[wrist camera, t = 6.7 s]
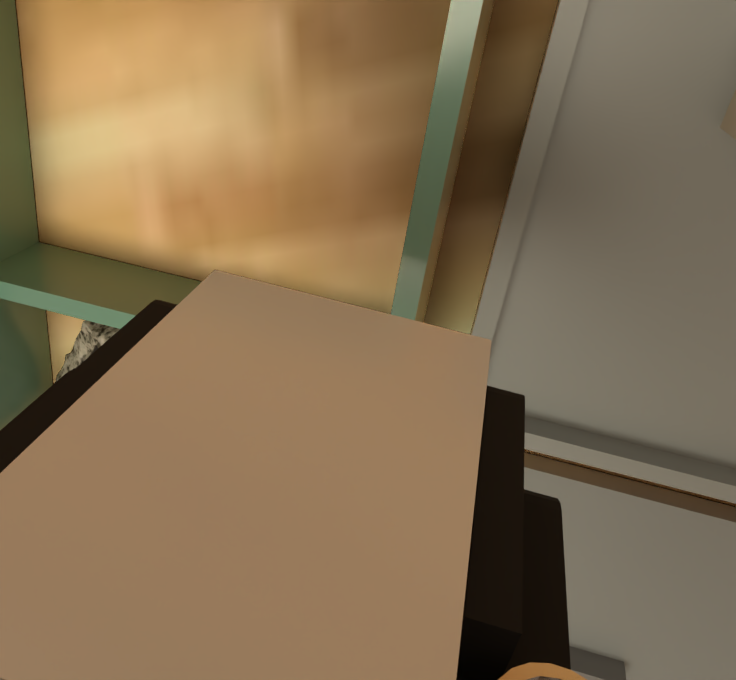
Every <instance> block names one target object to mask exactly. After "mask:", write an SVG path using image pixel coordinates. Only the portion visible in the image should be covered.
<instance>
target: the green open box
mask: <svg viewBox="0 0 736 680" xmlns="http://www.w3.org/2000/svg"><path fill="white" fill-rule="evenodd" d="M494 2H495V0H451V4H450V9H449V14H448V19H447V24H446V30H445V35H444V40H443V45H442V50H441V56H440V61H439V66H438V71H437V76H436V82H435V87H434V92H433V97H432V102H431V108H430V113H429V118H428V123H427V128H426V134H425V139H424V144H423V149H422V154H421V160H420V165H419V170H418V175H417V180H416V186H415V191H414V196H413V201H412V206H411V212H410V217H409V222H408V227H407V232H406V238H405V243H404V248H403V253H402V258H401V264H400V269H399V274H398V279H397V284H396V290H395V295H394V300H393V305H392V310H391V315H395V316H399V317H403V318H407V319H411V320H415V321H419V322H424V318H425V313H426V309H427V304H428V300H429V295H430V291H431V286H432V282H433V277H434V273H435V268H436V264H437V259H438V255H439V250H440V246H441V241H442V237H443V232H444V227H445V223H446V218H447V214H448V209H449V205H450V200H451V196H452V191H453V187H454V182H455V178H456V173H457V169H458V164H459V160H460V155H461V151H462V146H463V142H464V137H465V133H466V128H467V124H468V119H469V115H470V110H471V106H472V101H473V97H474V92H475V87H476V83H477V78H478V74H479V69H480V65H481V60H482V56H483V51H484V47H485V42H486V38H487V33H488V29H489V24H490V20H491V15H492V11H493V6H494ZM200 283H201V281H197V280H193V279H188V278H184V277H180V276H176V275H172V274H168V273H164V272H160V271H156V270H152V269H147V268H143V267H139V266H135V265H131V264H127V263H123V262H119V261H115V260H111V259H106V258H102V257H98V256H94V255H90V254H86V253H82V252H78V251H74V250H69V249H65V248H61V247H57V246H53V245H49V244H45V243H41V242H39V239H38V229H37V219H36V209H35V199H34V188H33V178H32V168H31V158H30V148H29V138H28V128H27V118H26V108H25V98H24V87H23V77H22V67H21V57H20V47H19V37H18V27H17V17H16V7H15V0H0V430H1V429H2V428H4V427H5V426H6V425H7V424H8V423H9V422H10V421H12V420H13V419H14V418H15V417H16V416H17V415H19V414H20V413H21V412H22V411H23V410H24V409H25V408H27V407H28V406H29V405H30V404H31V403H32V402H33V401H35V400H36V399H37V398H38V397H39V396H40V395H42V394H43V393H44V392H45V391H46V390H47V389H48V388H50V387H51V386H52V385H53V380H52V370H51V360H50V350H49V340H48V330H47V320H46V310H48V311H52V312H56V313H60V314H64V315H68V316H71V317H75V318H79V319H83V320H87V321H91V322H95V323H99V324H103V325H107V326H110V327H114V328H118V329H121V328H122V327H123V326H124V325H126V324H127V323H128V322H129V321H130V320H131V319H132V318H134V317H135V316H136V315H137V314H138V313H139V312H140V311H142V310H143V309H144V308H145V307H146V306H147V305H148V304H150V303H151V302H152V301H154V300H162V301H166V302H170V303H173V304H177V305H178V304H179V303H180V302H181V301H182V300H183V299H184V298H185V297H187V296H188V295H189V294H190V293H191V292H192V291H193V290H194V289H195V288H196V287H197V286H198V285H199V284H200Z"/></svg>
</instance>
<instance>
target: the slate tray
mask: <svg viewBox="0 0 736 680" xmlns="http://www.w3.org/2000/svg"><path fill="white" fill-rule="evenodd" d="M735 89H736V0H558V3H557V7H556V11H555V15H554V18H553V22H552V26H551V30H550V34H549V37H548V41H547V45H546V49H545V53H544V56H543V60H542V64H541V68H540V71H539V75H538V79H537V83H536V87H535V90H534V94H533V98H532V102H531V106H530V109H529V113H528V117H527V121H526V125H525V128H524V132H523V136H522V140H521V143H520V147H519V151H518V155H517V159H516V162H515V166H514V170H513V174H512V178H511V181H510V185H509V189H508V193H507V197H506V200H505V204H504V208H503V212H502V216H501V219H500V223H499V227H498V231H497V234H496V238H495V242H494V246H493V250H492V253H491V257H490V261H489V265H488V269H487V272H486V276H485V280H484V284H483V288H482V291H481V295H480V299H479V303H478V307H477V310H476V314H475V318H474V322H473V325H472V329H471V333H470V335H474V336H478V337H482V338H486V339H490V340H492V341H491V350H490V360H489V369H488V379H487V386H491V387H495V388H499V389H503V390H507V391H510V392H514V393H518V394H522V395H524V396H525V445H524V449H527V450H531V451H534V452H538V453H542V454H546V455H550V456H554V457H558V458H561V459H565V460H569V461H573V462H577V463H581V464H584V465H588V466H592V467H596V468H600V469H604V470H608V471H611V472H615V473H619V474H623V475H627V476H631V477H635V478H638V479H642V480H646V481H650V482H654V483H658V484H662V485H665V486H669V487H673V488H677V489H681V490H685V491H689V492H692V493H696V494H700V495H704V496H708V497H712V498H716V499H719V500H723V501H727V502H731V503H735V504H736V140H735V139H734V138H733V137H731V136H730V135H729V134H728V133H726V132H725V131H724V130H722V129H721V128H720V126H721V124H722V121H723V119H724V116H725V114H726V111H727V109H728V106H729V104H730V101H731V99H732V96H733V94H734V92H735ZM524 489H525V490H529V491H532V492H536V493H540V494H543V495H547V496H551V497H554V498H558V500H559V501H560V503H561V509H562V524H563V541H564V559H565V576H566V594H567V611H568V629H569V646H570V663H571V670H572V671H574V672H576V673H577V674H579V675H580V676H582V677H584V678H585V679H587V680H736V507H733V506H729V505H725V504H722V503H718V502H714V501H710V500H706V499H702V498H699V497H695V496H691V495H687V494H683V493H679V492H675V491H672V490H668V489H664V488H660V487H656V486H652V485H649V484H645V483H641V482H637V481H633V480H629V479H625V478H622V477H618V476H614V475H610V474H606V473H602V472H599V471H595V470H591V469H587V468H583V467H579V466H575V465H572V464H568V463H564V462H560V461H556V460H552V459H549V458H545V457H541V456H537V455H533V454H529V453H525V452H524Z"/></svg>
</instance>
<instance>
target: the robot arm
mask: <svg viewBox="0 0 736 680" xmlns="http://www.w3.org/2000/svg"><path fill="white" fill-rule="evenodd" d="M176 306H177V304H173V303H170V302H166V301H162V300H154V301H152V302H151V303H150V304H148V305H147V306H146V307H145V308H144V309H143V310H142V311H140V312H139V313H138V314H137V315H136V316H135V317H134V318H132V319H131V320H130V321H129V322H128V323H127V324H126V325H124V326H123V327H122V328H121V329H120V330H119V331H118V332H116V333H115V334H114V335H113V336H112V337H111V338H110V339H108V340H107V341H106V342H105V343H104V344H103V345H102V346H100V347H99V348H98V349H97V350H96V351H95V352H94V353H92V354H91V355H90V356H89V357H88V358H87V359H86V360H84V361H83V362H82V363H81V364H80V365H79V366H78V367H76V368H74V369H72V370H71V371H69V372H67V373H66V374H65V375H63V376H62V377H61V378H60V379H59V380H58V381H57V382H55V383H54V384H53V385H52V386H51V387H50V388H48V389H47V390H46V391H45V392H44V393H43V394H42V395H40V396H39V397H38V398H37V399H36V400H35V401H33V402H32V403H31V404H30V405H29V406H28V407H27V408H25V409H24V410H23V411H22V412H21V413H20V414H19V415H17V416H16V417H15V418H14V419H13V420H12V421H10V422H9V423H8V424H7V425H6V426H5V427H4V428H2V429H1V430H0V473H1V472H2V471H3V470H4V469H5V468H6V467H7V466H8V465H9V464H11V463H12V462H13V461H14V460H15V459H16V458H17V457H18V456H19V455H20V454H21V453H22V452H23V451H24V450H25V449H26V448H27V447H28V446H29V445H31V444H32V443H33V442H34V441H35V440H36V439H37V438H38V437H39V436H40V435H41V434H42V433H43V432H44V431H45V430H46V429H47V428H48V427H50V426H51V425H52V424H53V423H54V422H55V421H56V420H57V419H58V418H59V417H60V416H61V415H62V414H63V413H64V412H65V411H66V410H67V409H68V408H70V407H71V406H72V405H73V404H74V403H75V402H76V401H77V400H78V399H79V398H80V397H81V396H82V395H83V394H84V393H85V392H86V391H87V390H88V389H90V388H91V387H92V386H93V385H94V384H95V383H96V382H97V381H98V380H99V379H100V378H101V377H102V376H103V375H104V374H105V373H106V372H107V371H109V370H110V369H111V368H112V367H113V366H114V365H115V364H116V363H117V362H118V361H119V360H120V359H121V358H122V357H123V356H124V355H125V354H126V353H127V352H129V351H130V350H131V349H132V348H133V347H134V346H135V345H136V344H137V343H138V342H139V341H140V340H141V339H142V338H143V337H144V336H145V335H146V334H148V333H149V332H150V331H151V330H152V329H153V328H154V327H155V326H156V325H157V324H158V323H159V322H160V321H161V320H162V319H163V318H164V317H165V316H166V315H168V314H169V313H170V312H171V311H172V310H173V309H174V308H175V307H176ZM524 445H525V396H524V395H522V394H518V393H514V392H510V391H507V390H503V389H499V388H495V387H491V386H487V389H486V398H485V408H484V418H483V427H482V437H481V447H480V456H479V466H478V475H477V485H476V495H475V504H474V514H473V524H472V533H471V543H470V553H469V562H468V572H467V581H466V591H465V601H464V610H463V620H462V630H461V639H460V649H459V659H458V668H457V678H456V680H587V679H585V678H584V677H582V676H580V675H579V674H577V673H576V672H574V671H572V670H571V663H570V646H569V629H568V611H567V594H566V576H565V559H564V541H563V524H562V509H561V503H560V501H559V500H558V498H554V497H551V496H547V495H543V494H540V493H536V492H532V491H529V490H525V489H524Z"/></svg>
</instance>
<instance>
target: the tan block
mask: <svg viewBox="0 0 736 680" xmlns="http://www.w3.org/2000/svg"><path fill="white" fill-rule="evenodd" d="M720 128H721V129H722V130H724V131H725V132H726V133H728V134H729V135H730V136H731V137H733V138H734V139H735V140H736V89H735V92H734V94H733V96H732V99H731V101H730V104H729V106H728V109H727V111H726V114H725V116H724V119H723V121H722V124H721V126H720Z"/></svg>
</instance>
